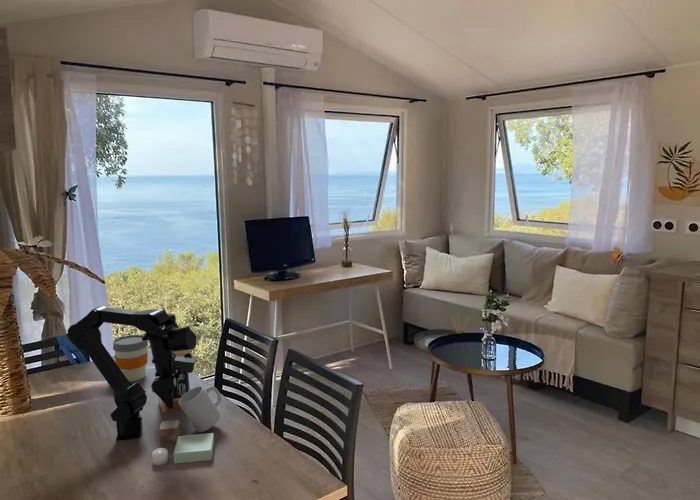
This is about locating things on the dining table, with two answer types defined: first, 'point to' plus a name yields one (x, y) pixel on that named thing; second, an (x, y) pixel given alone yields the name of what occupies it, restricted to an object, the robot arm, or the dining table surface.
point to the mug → (201, 407)
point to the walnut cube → (169, 432)
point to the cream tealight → (160, 456)
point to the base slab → (194, 448)
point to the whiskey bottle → (182, 383)
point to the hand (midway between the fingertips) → (173, 402)
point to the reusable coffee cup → (131, 356)
